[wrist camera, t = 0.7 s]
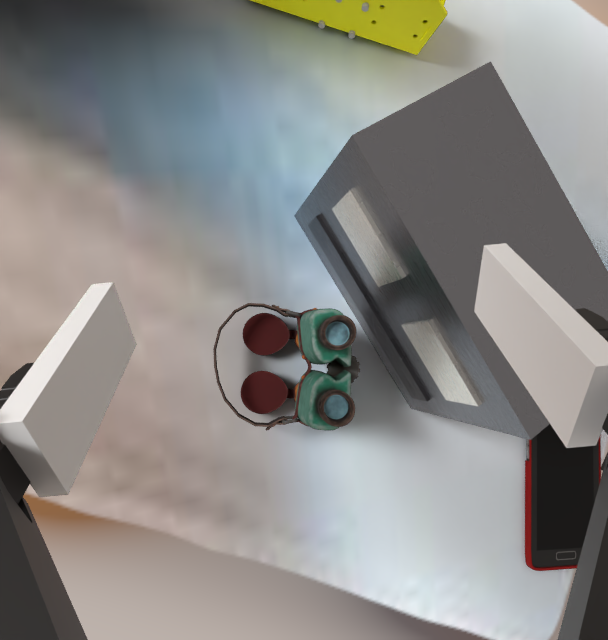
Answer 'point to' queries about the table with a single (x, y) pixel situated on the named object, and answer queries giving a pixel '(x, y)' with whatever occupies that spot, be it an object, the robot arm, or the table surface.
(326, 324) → the binoculars
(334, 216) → the box
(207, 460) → the table surface
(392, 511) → the table surface
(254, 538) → the table surface
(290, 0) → the yellow toy chassis
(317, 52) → the table surface
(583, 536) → the cell phone
